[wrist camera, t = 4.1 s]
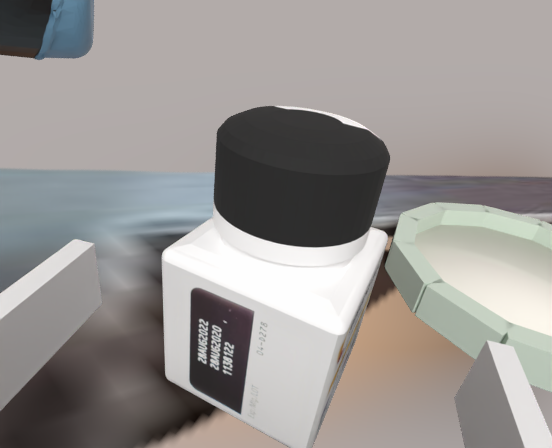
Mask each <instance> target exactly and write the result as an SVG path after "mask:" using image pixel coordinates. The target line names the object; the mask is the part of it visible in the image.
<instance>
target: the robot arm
mask: <svg viewBox="0 0 552 448" xmlns="http://www.w3.org/2000/svg"><path fill="white" fill-rule="evenodd" d="M93 29H94V0H0V55H8V56H18V57H27V58H28V57H29V58H35V59H37V60H42V59H44V58H79V57H82V56H84V55H86V54H87V53H88V52H89V50H90V49H91V47H92V43H93V31H94V30H93ZM101 305H102V297H101V289H100V282H99V274H98V267H97V259H96V252H95V244H94V243H90V242H86V241H81V240H77V239H74V240H72V241H71V242H70V243H68V244H67V245H66V246H64V247H63V248H62V249H60V250H59V251H57V252H56V253H55V254H53V255H52V256H51V257H49V258H48V259H47V260H45V261H44V262H42V263H41V264H40V265H38V266H37V267H36V268H34V269H33V270H32V271H30V272H29V273H28V274H26V275H25V276H23V277H22V278H21V279H19V280H18V281H17V282H15V283H14V284H13V285H11V286H10V287H9V288H7V289H6V290H4V291H3V292H2V293H0V411H1V410H2V409H3V408H4V407H5V405H6V404H7V403H8V402H9V401H10V400H11V399H12V398H13V397H14V396H15V395H16V394H17V393H18V392H19V391H20V390H21V389H22V388H23V387H24V385H25V384H26V383H27V382H28V381H29V380H30V379H31V378H32V377H33V376H34V375H35V374H36V373H37V372H38V371H39V370H40V369H41V368H42V367H43V366H44V364H45V363H46V362H47V361H48V360H49V359H50V358H51V357H52V356H53V355H54V354H55V353H56V352H57V351H58V350H59V349H60V348H61V347H62V346H63V345H64V343H65V342H66V341H67V340H68V339H69V338H70V337H71V336H72V335H73V334H74V333H75V332H76V331H77V330H78V329H79V328H80V327H81V326H82V325H83V324H84V322H85V321H86V320H87V319H88V318H89V317H90V316H91V315H92V314H93V313H94V312H95V311H96V310H97V309H98V308H99V307H100V306H101ZM455 403H456V408H457V413H458V417H459V422H460V427H461V431H462V436H463V441H464V445H465V448H552V436H551V434H550V431H549V429H548V427H547V424H546V422H545V420H544V417H543V415H542V413H541V410H540V408H539V406H538V403H537V401H536V399H535V396H534V394H533V392H532V389H531V387H530V384H529V382H528V380H527V377H526V375H525V373H524V370H523V368H522V366H521V363H520V361H519V359H518V356H517V354H516V352H515V349H514V347H513V346H509V345H505V344H501V343H497V342H493V341H488V340H487V341H486V342H485V344H484V346H483V348H482V349H481V351H480V353H479V355H478V357H477V358H476V360H475V362H474V364H473V366H472V367H471V369H470V371H469V373H468V375H467V376H466V378H465V380H464V382H463V384H462V385H461V387H460V389H459V390H458V392H457V394H456V396H455Z"/></svg>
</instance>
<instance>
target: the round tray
mask: <svg viewBox="0 0 552 448" xmlns="http://www.w3.org/2000/svg"><path fill="white" fill-rule="evenodd" d="M385 269H386V271H387V273H388V274H389V276H390V277H391V279H392V281H393V282H394V284H395V286H396V287H397V289H398V290H399V292H400V294H401V295H402V297H403V298H404V300H405V302H406V303H407V305H408V307H409V308H410V310H411V311H412V312H416V314H415V316H416V317H418V318H419V319H421V320H422V321H423V322H425V323H426V324H427V325H429V326H430V327H431V328H433V329H434V330H436V331H437V332H438V333H440V334H441V335H442V336H444V337H445V338H446V339H448V340H449V341H450V342H452V343H453V344H455V345H456V346H457V347H459V348H460V349H461V350H463V351H464V352H466V353H467V354H468V355H470V356H471V357H472V358H474V359H475V360H476V358H477V357H478V355H479V353H480V351H481V349H482V348H483V346H484V344H485V342H486V341H487V340H488V341H493V342H497V343H501V344H505V345H509V346H513V347H514V349H515V352H516V354H517V356H518V359H519V361H520V363H521V366H522V368H523V370H524V373H525V375H526V377H527V380H528V382H529V384H531V385H533V386H536V387H539V388H542V389H544V390H547V391H550V392H552V225H551V224H549V223H546V222H544V221H543V222H541V221H540V220H538V219H534V218H530V217H527V216H523V215H519V214H515V213H511V212H507V211H503V210H500V209H496V208H492V207H488V206H484V207H483V206H482V205H473V204H456V203H438V202H435V203H430V204H427V205H424V206H421V207H418V208H415V209H412V210H409V211H406V212H403V213H402V214H400V217H399V221H398V224H397V227H396V230H395V233H394V236H393V239H392V243H391V246H390V249H389V253H388V257H387V260H386V264H385Z"/></svg>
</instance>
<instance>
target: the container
mask: <svg viewBox="0 0 552 448" xmlns="http://www.w3.org/2000/svg"><path fill="white" fill-rule="evenodd" d="M389 162H390V155H389V152H388V150H387V148H386V146H385V144H384V142H383V141H382V140H381V139H380V138H379V137H378V136H376V135H375V134H374V133H372V132H371V131H370V130H368V129H367V128H366V127H364V126H363V125H361V124H359V123H358V122H355V121H353V120H351V119H348V118H345V117H342V116H339V115H336V114H332V113H328V112H324V111H319V110H313V109H306V108H299V107H289V106H266V107H258V108H253V109H251V110H247V111H244V112H241V113H238V114H236V115H233V116H231V117H229V118H228V119H227V120H226V121H225V122H224V123H223V124H222V125H221V127H220V128H219V129H218V131H217V143H216V164H215V183H214V203H213V217H212V218H211V219H209V220H208V221H206V222H205V223H203V224H202V225H200V226H199V227H197V228H196V229H194V230H193V231H191V232H190V233H189V234H187V235H186V236H184V237H183V238H181V239H180V240H178V241H177V242H175V243H174V244H172V245H171V246H169V247H168V248H167V249H165V250H164V251H163V254H162V280H163V315H164V350H165V375H166V378H167V379H168V380H169V381H171V382H173V383H174V384H176V385H178V386H180V387H182V388H183V389H185V390H187V391H189V392H191V393H192V394H194V395H196V396H198V397H200V398H201V399H203V400H205V401H207V402H209V403H210V404H212V405H214V406H216V407H218V408H219V409H221V410H223V411H225V412H226V413H228V414H230V415H232V416H234V417H236V418H237V419H239V420H241V421H243V422H244V423H246V424H248V425H250V426H252V427H253V428H255V429H257V430H259V431H261V432H262V433H264V434H266V435H268V436H270V437H271V438H273V439H275V440H277V441H278V442H280V443H282V444H284V445H286V446H287V447H289V448H312V447H313V444H314V442H315V439H316V437H317V434H318V432H319V429H320V427H321V425H322V422H323V420H324V417H325V415H326V412H327V410H328V408H329V405H330V403H331V400H332V398H333V395H334V393H335V390H336V388H337V385H338V383H339V381H340V378H341V375H342V373H343V371H344V368H345V366H346V363H347V361H348V358H349V356H350V354H351V351H352V349H353V346H354V343H355V341H356V338H357V335H358V332H359V328H360V325H361V322H362V319H363V316H364V313H365V310H366V307H367V304H368V301H369V297H370V294H371V291H372V288H373V285H374V282H375V279H376V276H377V273H378V269H379V266H380V263H381V260H382V257H383V254H384V251H385V248H386V245H387V241H388V237H387V234H386V233H385V232H384V231H382V230H379V229H376V228H373V227H371V224H372V221H373V217H374V214H375V210H376V207H377V203H378V200H379V196H380V193H381V190H382V186H383V183H384V179H385V176H386V172H387V169H388V165H389Z"/></svg>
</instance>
